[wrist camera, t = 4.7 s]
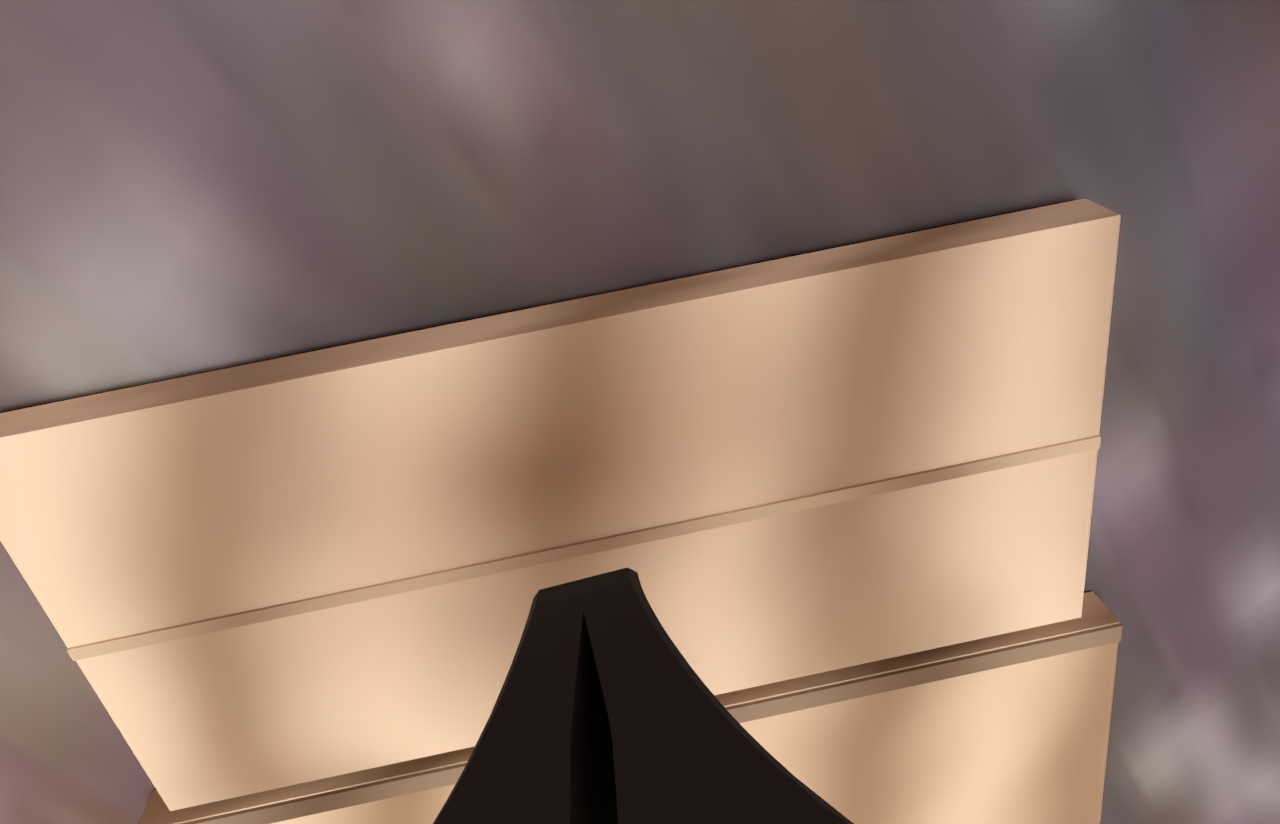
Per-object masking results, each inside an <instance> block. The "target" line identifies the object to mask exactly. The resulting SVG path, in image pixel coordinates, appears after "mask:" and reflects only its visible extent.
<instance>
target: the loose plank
mask: <svg viewBox="0 0 1280 824" xmlns="http://www.w3.org/2000/svg"><path fill="white" fill-rule="evenodd" d="M1120 218H1121V215H1120V214H1118V213H1116V212H1114V211H1112V210H1110V209H1107V208H1105V207H1103V206H1101V205H1099V204H1097V203H1094V202H1092V201H1090V200H1088V199H1086V198H1084V199H1079V200H1074V201H1069V202H1064V203H1059V204H1054V205H1049V206H1044V207H1039V208H1034V209H1029V210H1024V211H1019V212H1014V213H1009V214H1004V215H998V216H993V217H988V218H983V219H978V220H973V221H968V222H963V223H958V224H953V225H948V226H943V227H938V228H933V229H928V230H923V231H918V232H913V233H908V234H903V235H898V236H892V237H887V238H882V239H877V240H872V241H867V242H862V243H857V244H852V245H847V246H842V247H837V248H832V249H827V250H822V251H817V252H812V253H807V254H802V255H797V256H791V257H786V258H781V259H776V260H771V261H766V262H761V263H756V264H751V265H746V266H741V267H736V268H731V269H726V270H721V271H716V272H711V273H706V274H701V275H696V276H691V277H685V278H680V279H675V280H670V281H665V282H660V283H655V284H650V285H645V286H640V287H635V288H630V289H625V290H620V291H615V292H610V293H605V294H600V295H595V296H590V297H585V298H579V299H574V300H569V301H564V302H559V303H554V304H549V305H544V306H539V307H534V308H529V309H524V310H519V311H514V312H509V313H504V314H499V315H494V316H489V317H484V318H479V319H473V320H468V321H463V322H458V323H453V324H448V325H443V326H438V327H433V328H428V329H423V330H418V331H413V332H408V333H403V334H398V335H393V336H388V337H383V338H378V339H373V340H367V341H362V342H357V343H352V344H347V345H342V346H337V347H332V348H327V349H322V350H317V351H312V352H307V353H302V354H297V355H292V356H287V357H282V358H277V359H272V360H267V361H261V362H256V363H251V364H246V365H241V366H236V367H231V368H226V369H221V370H216V371H211V372H206V373H201V374H196V375H191V376H186V377H181V378H176V379H171V380H166V381H161V382H155V383H150V384H145V385H140V386H135V387H130V388H125V389H120V390H115V391H110V392H105V393H100V394H95V395H90V396H85V397H80V398H75V399H70V400H65V401H60V402H54V403H49V404H44V405H39V406H34V407H29V408H24V409H19V410H14V411H9V412H4V413H0V541H1V542H2V544H3V545H4V547H5V549H6V550H7V552H8V553H9V555H10V557H11V558H12V560H13V561H14V563H15V564H16V566H17V568H18V569H19V571H20V572H21V574H22V576H23V577H24V579H25V580H26V582H27V584H28V585H29V587H30V588H31V590H32V592H33V593H34V595H35V596H36V598H37V600H38V601H39V603H40V604H41V606H42V608H43V609H44V611H45V612H46V614H47V616H48V617H49V619H50V620H51V622H52V623H53V625H54V627H55V628H56V630H57V631H58V633H59V635H60V636H61V638H62V639H63V641H64V643H65V644H66V646H67V647H68V649H67V650H66V651H67V652H68V654H69V655H70V657H71V659H72V660H73V661H76V662H77V663H78V665H79V667H80V668H81V670H82V671H83V673H84V675H85V676H86V678H87V679H88V681H89V683H90V684H91V686H92V687H93V689H94V690H95V692H96V694H97V695H98V697H99V698H100V700H101V702H102V703H103V705H104V706H105V708H106V710H107V711H108V713H109V714H110V716H111V718H112V719H113V721H114V722H115V724H116V726H117V727H118V729H119V730H120V732H121V734H122V735H123V737H124V738H125V740H126V742H127V743H128V745H129V746H130V748H131V749H132V751H133V753H134V754H135V756H136V757H137V759H138V761H139V762H140V764H141V765H142V767H143V769H144V770H145V772H146V773H147V775H148V777H149V778H150V780H151V781H152V783H153V785H154V786H155V788H156V789H157V791H158V793H159V794H160V796H161V797H162V799H163V801H164V802H165V804H166V805H167V807H168V809H169V810H170V811H174V810H178V809H183V808H188V807H192V806H197V805H202V804H206V803H211V802H216V801H221V800H225V799H230V798H235V797H239V796H244V795H249V794H253V793H258V792H263V791H268V790H272V789H277V788H282V787H286V786H291V785H296V784H300V783H305V782H310V781H315V780H319V779H324V778H329V777H333V776H338V775H343V774H347V773H352V772H357V771H361V770H366V769H371V768H376V767H380V766H385V765H390V764H394V763H399V762H404V761H408V760H413V759H418V758H423V757H427V756H432V755H437V754H441V753H446V752H451V751H455V750H460V749H465V748H470V747H474V746H475V745H476V743H477V741H478V739H479V737H480V735H481V733H482V731H483V729H484V727H485V725H486V723H487V721H488V719H489V717H490V714H491V712H492V710H493V708H494V705H495V703H496V700H497V698H498V696H499V693H500V691H501V688H502V686H503V684H504V681H505V679H506V676H507V674H508V671H509V669H510V667H511V664H512V661H513V659H514V656H515V653H516V650H517V648H518V645H519V642H520V639H521V636H522V634H523V631H524V628H525V624H526V621H527V618H528V615H529V612H530V608H531V605H532V601H533V598H534V597H535V595H536V594H537V592H538V591H539V590H540V589H544V588H548V587H552V586H556V585H560V584H564V583H568V582H572V581H576V580H580V579H584V578H588V577H592V576H595V575H599V574H603V573H607V572H611V571H615V570H619V569H623V568H627V567H628V568H630V569H632V570H634V571H636V572H637V573H638V576H639V580H640V584H641V586H642V589H643V592H644V594H645V596H646V598H647V600H648V602H649V604H650V606H651V608H652V610H653V611H654V613H655V615H656V616H657V618H658V620H659V621H660V623H661V625H662V626H663V628H664V630H665V631H666V633H667V634H668V636H669V637H670V639H671V640H672V641H673V643H674V644H675V646H676V647H677V648H678V650H679V651H680V653H681V654H682V655H683V657H684V658H685V659H686V661H687V662H688V664H689V665H690V666H691V668H692V669H693V670H694V671H695V673H696V674H697V675H698V676H699V678H700V679H701V680H702V682H703V683H704V684H705V685H706V686H707V687H708V689H709V690H710V691H711V692H712V693H713V695H719V694H723V693H728V692H733V691H737V690H742V689H747V688H752V687H756V686H761V685H766V684H770V683H775V682H780V681H784V680H789V679H794V678H799V677H803V676H808V675H813V674H817V673H822V672H827V671H831V670H836V669H841V668H846V667H850V666H855V665H860V664H864V663H869V662H874V661H878V660H883V659H888V658H893V657H897V656H902V655H907V654H911V653H916V652H921V651H925V650H930V649H935V648H940V647H944V646H949V645H954V644H958V643H963V642H968V641H972V640H977V639H982V638H987V637H991V636H996V635H1001V634H1005V633H1010V632H1015V631H1019V630H1024V629H1029V628H1034V627H1038V626H1043V625H1048V624H1052V623H1057V622H1062V621H1066V620H1071V619H1076V618H1081V616H1082V606H1083V595H1084V585H1085V575H1086V565H1087V555H1088V544H1089V534H1090V524H1091V514H1092V504H1093V493H1094V483H1095V473H1096V463H1097V453H1098V449H1100V443H1101V436H1100V435H1099V432H1100V422H1101V412H1102V402H1103V391H1104V381H1105V371H1106V361H1107V351H1108V340H1109V330H1110V320H1111V310H1112V300H1113V289H1114V279H1115V269H1116V259H1117V249H1118V239H1119V228H1120Z"/></svg>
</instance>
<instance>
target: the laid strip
mask: <svg viewBox="0 0 1280 824" xmlns="http://www.w3.org/2000/svg"><path fill="white" fill-rule="evenodd" d="M1121 635H1122V625H1121V624H1120V621H1119V620H1118V619H1117V618H1116V617H1115V615H1114V614H1113V613H1112V612H1111V611H1110V610H1109V609H1108V608H1107V607H1106V606H1105V605H1104V603H1103V602H1102V601H1101V600H1100V599H1099V598H1098V597H1097V596H1096V595H1095V594H1094V592H1093V591H1091V592H1086V593H1084V595H1083V606H1082V616H1081V618H1076V619H1071V620H1066V621H1062V622H1057V623H1052V624H1048V625H1043V626H1038V627H1034V628H1029V629H1024V630H1019V631H1015V632H1010V633H1005V634H1001V635H996V636H991V637H987V638H982V639H977V640H972V641H968V642H963V643H958V644H954V645H949V646H944V647H940V648H935V649H930V650H925V651H921V652H916V653H911V654H907V655H902V656H897V657H893V658H888V659H883V660H878V661H874V662H869V663H864V664H860V665H855V666H850V667H846V668H841V669H836V670H831V671H827V672H822V673H817V674H813V675H808V676H803V677H799V678H794V679H789V680H784V681H780V682H775V683H770V684H766V685H761V686H756V687H752V688H747V689H742V690H737V691H733V692H728V693H723V694H719V695H714V696H715V697H716V698H717V699H718V700H719V702H720V703H721V704H722V705H723V706H724V707H725V708H726V709H727V711H728V712H729V713H730V714H731V715H732V716H733V717H734V718H735V719H736V720H737V721H738V722H739V724H740V725H741V726H742V727H743V728H744V729H745V730H746V731H747V732H748V733H749V734H750V735H751V736H752V737H753V738H754V739H755V740H756V741H757V742H758V743H759V744H760V745H761V746H762V747H763V748H764V749H765V750H766V751H768V752H769V753H770V754H771V755H772V756H773V757H774V758H775V759H776V760H777V761H779V762H780V763H781V764H782V765H783V766H784V767H785V768H786V769H787V770H788V771H789V772H791V773H792V774H793V775H794V776H795V777H796V778H797V779H799V780H800V781H801V782H802V783H804V784H805V785H806V786H807V787H809V788H810V789H811V790H812V791H814V792H815V793H816V794H817V795H819V796H820V797H821V798H822V799H824V800H825V801H826V802H827V803H829V804H830V805H831V806H832V807H834V808H835V809H836V810H837V811H839V812H840V813H841V814H842V815H844V816H845V817H846V818H847V819H849V820H850V821H851V822H852V823H854V824H1100V817H1101V807H1102V797H1103V787H1104V777H1105V767H1106V757H1107V747H1108V738H1109V728H1110V718H1111V708H1112V698H1113V688H1114V678H1115V668H1116V658H1117V648H1118V642H1121ZM474 748H475V746H474V747H470V748H465V749H460V750H455V751H451V752H446V753H441V754H437V755H432V756H427V757H423V758H418V759H413V760H408V761H404V762H399V763H394V764H390V765H385V766H380V767H376V768H371V769H366V770H361V771H357V772H352V773H347V774H343V775H338V776H333V777H329V778H324V779H319V780H315V781H310V782H305V783H300V784H296V785H291V786H286V787H282V788H277V789H272V790H268V791H263V792H258V793H253V794H249V795H244V796H239V797H235V798H230V799H225V800H221V801H216V802H211V803H206V804H202V805H197V806H192V807H188V808H183V809H178V810H174V811H170V810H169V809H168V807H167V805H166V804H165V802H164V801H163V799H162V797H161V796H160V794H159V793H158V791H157V790H153V792H152V794H151V796H150V798H149V801H148V803H147V805H146V807H145V810H144V812H143V814H142V816H141V818H140V821H139V823H138V824H433V822H434V821H435V819H436V817H437V816H438V814H439V812H440V811H441V809H442V807H443V806H444V804H445V802H446V801H447V799H448V797H449V795H450V793H451V792H452V790H453V788H454V786H455V784H456V783H457V781H458V779H459V777H460V775H461V773H462V772H463V770H464V768H465V766H466V764H467V762H468V760H469V758H470V756H471V754H472V752H473V750H474Z"/></svg>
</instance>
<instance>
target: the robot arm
mask: <svg viewBox="0 0 1280 824" xmlns="http://www.w3.org/2000/svg"><path fill="white" fill-rule="evenodd" d="M433 824H854V823H852V822H851V821H850V820H849V819H847V818H846V817H845V816H844V815H842V814H841V813H840V812H839V811H837V810H836V809H835V808H834V807H832V806H831V805H830V804H829V803H827V802H826V801H825V800H824V799H822V798H821V797H820V796H819V795H817V794H816V793H815V792H814V791H812V790H811V789H810V788H809V787H807V786H806V785H805V784H804V783H802V782H801V781H800V780H799V779H797V778H796V777H795V776H794V775H793V774H792V773H791V772H789V771H788V770H787V769H786V768H785V767H784V766H783V765H782V764H781V763H780V762H779V761H777V760H776V759H775V758H774V757H773V756H772V755H771V754H770V753H769V752H768V751H766V750H765V749H764V748H763V747H762V746H761V745H760V744H759V743H758V742H757V741H756V740H755V739H754V738H753V737H752V736H751V735H750V734H749V733H748V732H747V731H746V730H745V729H744V728H743V727H742V726H741V725H740V724H739V722H738V721H737V720H736V719H735V718H734V717H733V716H732V715H731V714H730V713H729V712H728V711H727V709H726V708H725V707H724V706H723V705H722V704H721V703H720V702H719V700H718V699H717V698H716V697H715V696H714V695H713V693H712V692H711V691H710V690H709V689H708V687H707V686H706V685H705V684H704V683H703V682H702V680H701V679H700V678H699V676H698V675H697V674H696V673H695V671H694V670H693V669H692V668H691V666H690V665H689V664H688V662H687V661H686V659H685V658H684V657H683V655H682V654H681V653H680V651H679V650H678V648H677V647H676V646H675V644H674V643H673V641H672V640H671V639H670V637H669V636H668V634H667V633H666V631H665V630H664V628H663V626H662V625H661V623H660V621H659V620H658V618H657V616H656V615H655V613H654V611H653V610H652V608H651V606H650V604H649V602H648V600H647V598H646V596H645V594H644V592H643V589H642V586H641V584H640V580H639V576H638V573H637V572H636V571H634V570H632V569H630V568H628V567H627V568H623V569H619V570H615V571H611V572H607V573H603V574H599V575H595V576H592V577H588V578H584V579H580V580H576V581H572V582H568V583H564V584H560V585H556V586H552V587H548V588H544V589H540V590H539V591H538V592H537V594H536V595H535V597H534V598H533V601H532V605H531V608H530V612H529V615H528V618H527V621H526V624H525V628H524V631H523V634H522V636H521V639H520V642H519V645H518V648H517V650H516V653H515V656H514V659H513V661H512V664H511V667H510V669H509V671H508V674H507V676H506V679H505V681H504V684H503V686H502V688H501V691H500V693H499V696H498V698H497V700H496V703H495V705H494V708H493V710H492V712H491V714H490V717H489V719H488V721H487V723H486V725H485V727H484V729H483V731H482V733H481V735H480V737H479V739H478V741H477V743H476V745H475V748H474V750H473V752H472V754H471V756H470V758H469V760H468V762H467V764H466V766H465V768H464V770H463V772H462V773H461V775H460V777H459V779H458V781H457V783H456V784H455V786H454V788H453V790H452V792H451V793H450V795H449V797H448V799H447V801H446V802H445V804H444V806H443V807H442V809H441V811H440V812H439V814H438V816H437V817H436V819H435V821H434V822H433Z"/></svg>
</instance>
